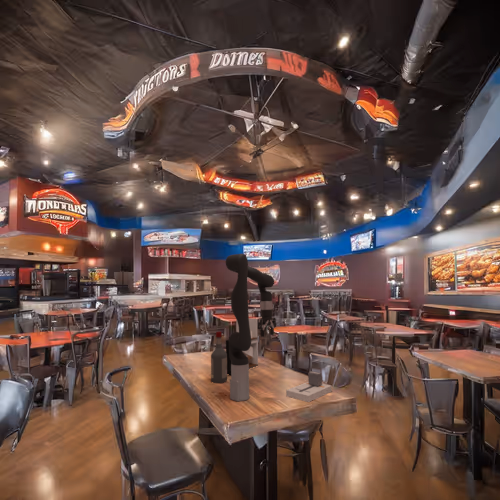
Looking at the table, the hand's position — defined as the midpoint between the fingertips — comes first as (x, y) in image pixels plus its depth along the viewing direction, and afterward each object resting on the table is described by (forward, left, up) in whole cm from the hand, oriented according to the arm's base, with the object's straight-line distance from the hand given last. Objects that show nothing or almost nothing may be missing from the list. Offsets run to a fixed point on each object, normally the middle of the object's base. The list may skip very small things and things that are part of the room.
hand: (267, 335), depth 187 cm
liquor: (-15, +28, -28) cm, 43 cm away
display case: (+22, +40, -28) cm, 54 cm away
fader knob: (+7, -28, -25) cm, 38 cm away
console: (+1, -28, -28) cm, 40 cm away
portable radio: (+2, +35, -28) cm, 45 cm away
